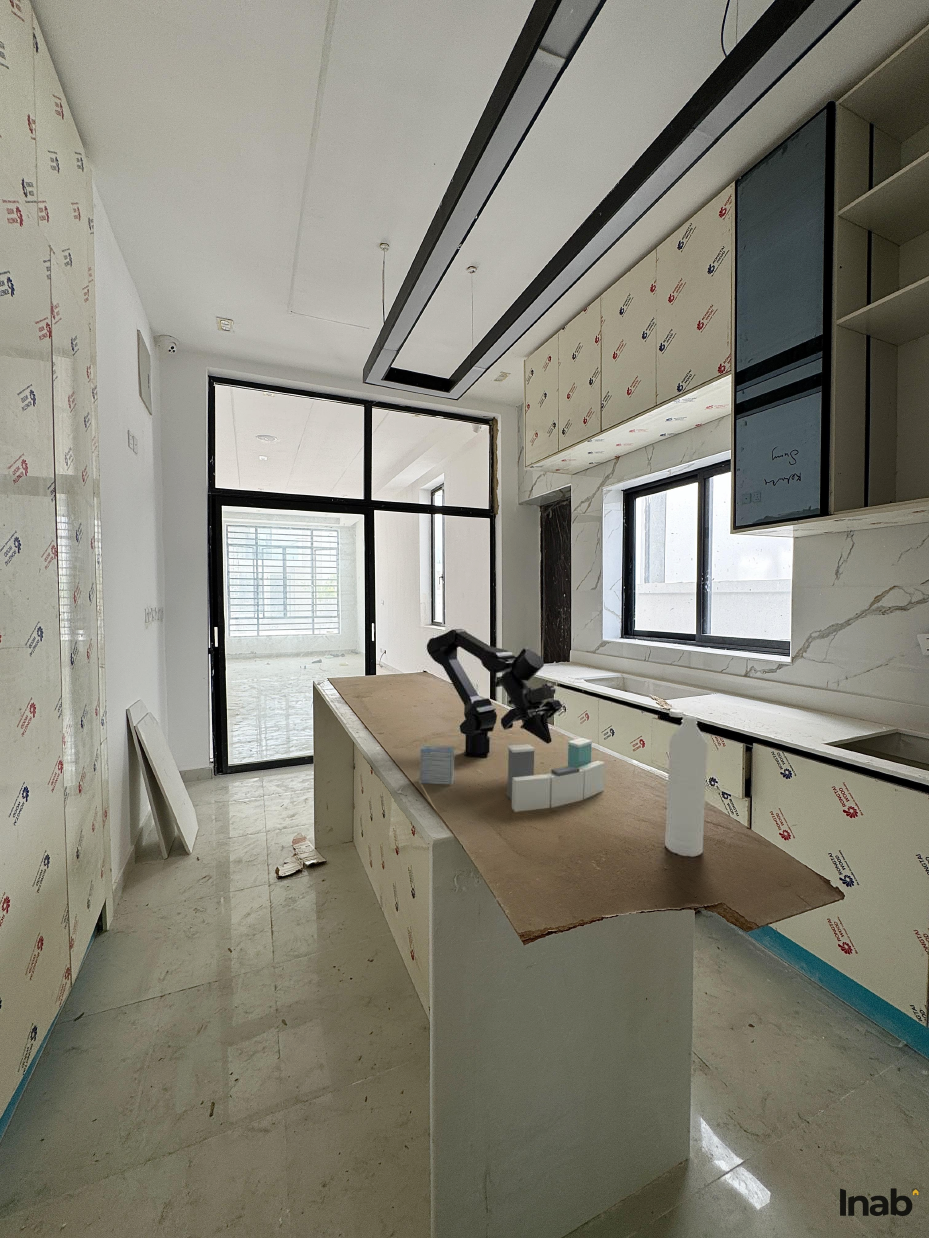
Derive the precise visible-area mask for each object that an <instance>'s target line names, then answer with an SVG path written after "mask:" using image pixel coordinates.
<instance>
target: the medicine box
mask: <svg viewBox="0 0 929 1238" xmlns="http://www.w3.org/2000/svg"><path fill="white" fill-rule="evenodd" d="M419 752H420V753H419V754H420V755H419V784H420V783H422V784H427V785H428V784H429V785H431V784H432V785H447V786H452V785H453V783H454V779H455V746H454V745H445V744H444V745H441V744H422V746H421V748H420V750H419Z"/></svg>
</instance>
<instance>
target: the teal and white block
mask: <svg viewBox="0 0 929 1238" xmlns="http://www.w3.org/2000/svg"><path fill="white" fill-rule="evenodd" d="M567 744H568V745H567V746H568V750H567V751H568V754H567V766H571V765H573V766H575V767H577V768H579V767H581V766H584V765H587V764H589V763H592V744H593V740H592V739H588V738H584V737H579V738H576V739H572V740H568V741H567Z"/></svg>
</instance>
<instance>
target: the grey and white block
mask: <svg viewBox="0 0 929 1238" xmlns="http://www.w3.org/2000/svg"><path fill="white" fill-rule="evenodd" d="M507 748H508V757H507V758H508V759H507V760H508V762H507V763H508V766H507V796H508V798H509V799H510V800H511V801H512V777H522V776H533V775H535V774H534V773H535V771H534V770H535V767H534V766H535V751H536V748H535V747H534V746H533V745H531V744H530V743H525V744H512V745H511V744H510V745H508V746H507Z"/></svg>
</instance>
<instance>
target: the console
mask: <svg viewBox="0 0 929 1238" xmlns="http://www.w3.org/2000/svg"><path fill="white" fill-rule="evenodd" d="M605 765H606V763H605V762H604V761H601V760H595V761H591V763H589V764H587V765H584V766H581V767H579V768H577V767H575V766H573V765H571V766H568V765H567V766H562V767H561V766H560V767H557V768H552V769H551V773H547V774H534V775H533V776H522V777H512V800H511V809H512V810H513V812H515V813H516V812H517V813H518V812H525V811H533V810H534V811H535V810H543V809H550V808H551V809H553V808H556V807H561V806H564V805H567V804H573V803H576V802H580V801H583V800H586V799H588V798H590V797H593V796H595V795H597V794H599V793H602V792H603V791H604V790H605V769H606V768H605V767H606V766H605Z"/></svg>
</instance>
